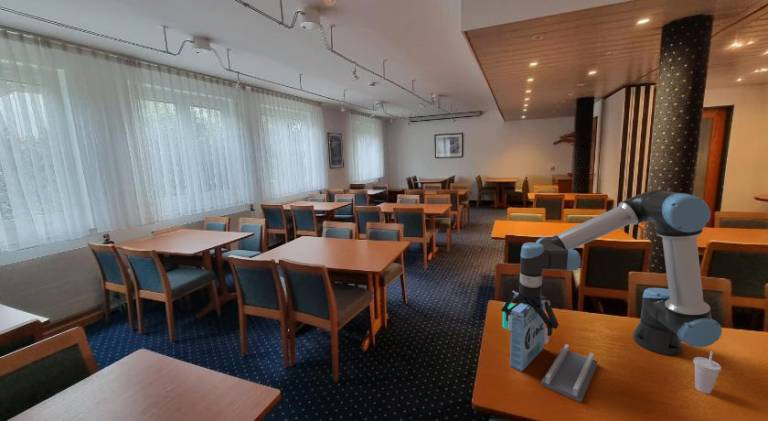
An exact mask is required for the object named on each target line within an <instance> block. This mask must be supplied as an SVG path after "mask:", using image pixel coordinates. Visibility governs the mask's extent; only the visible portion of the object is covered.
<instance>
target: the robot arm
mask: <svg viewBox="0 0 768 421" xmlns="http://www.w3.org/2000/svg"><path fill="white" fill-rule="evenodd" d="M711 215H712V214H711V209H710V207H709V205H708V203H707V202H706V201H705V200H703V199H701V198H700V197H699V196H695V195H692V194H689V193H685V192H676V191H675V192H674V191H669V190H663V189H655V190H649V191H646V192H643V193H639V194H636V195H635V196H633V197H630V198H627V199H625V200H623V201H621V202H619V203H618V206H616V207H614V208H613V209H610V210H608V211H606V212H603V213H602V214H599V215H596V216H595V217H593V218H590V219H587V220H586V221H584V222H582V223H580V224H577V225H575V226H573V227H571V228H568V229H566V230H565V231H561V232H560V233H558V234H556V235H553V236H550V237H546V236H545V237H539V238H538V239H537V240H536V241H535V242H525V243H523V244H522V246H521V250H520V255H519V256H520V267H519V270H520V271H519V284H518V285H519V288H518V292H517V291H516V290H512V291H511V292H510V294H509V297H508V299H507V301H506V302H504V303H505V305H504V306H503V305H502V308H501V312H502V313H503V312H505V313H506V321H508V330H507V331H508V332H509V331H510V332H511V315H512V313H511V312H512V309H514V308H515V307H516V306H518V305H519V304H520V303H526V304H530V305H531V306H533V308H534V309H535V311H536V312H537V313H538V314H539V315H540V317H541V318H542V320H543V321H544V325H546V326H544V345H547V344H548V343H549V341H550V337H551V336H552V335H553V329H555V330H557V329H558V327H559V325H560V324H559V323H558V319H557V317H556V315H555V313H554V311H553V308H552V305H551V300H550V299H545V300H542V299H541V295H542V284H543V271H544V270H546V271H577V270H578V269H579V268H580V267H581V262H582V261H581V255H580V252H579V251H577V250H576V248H577V247H580V246H583V245H585V244H588V243H590V242H592V241H594V240H596V239H598V238H601V237H604V236H605V235H608V234H609V233H610V234H611V233H613V232H615V231H617V230H619V229H621V228H624V227H626V226H629V225H634V226H635V225H638V224H641V223H645V222H653V223H654V229H655V230H654V231H655V234H656V235H657V236H659V237H660V238H661V239H662V245H663V255H664V264H665V273H666V281H667V288H664V287H662V288H661V287H648V288H646V289H644V290H643V294H642V297H641V298H642V303H641V311H640V312H641V313H640V321H639V323H637V326H636V327H635V329H634V330H633V335H632V339H633V341H634V342H635V343H636V344H638V345H639V346H640V347H641V348H643V349H646V350H648V351H651V352H654V353H658V354H661V355H667V356H676V355H680V354H681V353H683V343H684V344H686V345H688V346H690V347H694V348H705V347H709V346H712V345H713V344H715V343H716V342H718V341H719V339H720V338H721V336H722V334H723V327H722V326H721V325H720V323H719V322H718V321H717V320H715V319H713V318H712V312H711V305H709V304H708V303H707V302H705V301H704V296H703V294H704V293H703V286H702V276H701V266H700V257H699V256H700V255H699V248H698V246H699V245H698V239H697V237H699V236H700V235H701V234H703V229H704V228H705V227H706V226H707V223H709V222H710V220H711ZM516 298H517V299H518V300H519V301H518V302H517V303H514V304H515V305H514V306H513V307H511V308H510V309H507V308H508V306H509V305H510V303H513V301H514V299H516ZM541 303H542V304H543V306H544V307H545V312H544V311H543V309H542V307H541V305H540V304H541ZM537 307H538V308H537Z"/></svg>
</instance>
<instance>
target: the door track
mask: <svg viewBox="0 0 768 421" xmlns="http://www.w3.org/2000/svg"><path fill="white" fill-rule="evenodd" d="M556 355H557V356H556V357H555V359H554V360H553V362H552V364H551V365H550V366H549V368H548V370H547V371H546V372H545V375H543V378H542V379H541V381H540V382H541V383H540V385H541V386H543V387H546V388H547V389H549V390H552V391H554V392H556V393H557V394H560V395H563V396H565V397H568V398H569V399H572V400H573V401H576V402H578V403H582V402H583V400H584V397H585V395H586V392H587V390H588V387H589V385H590V383H591V381H592V379H593V376H594V374H595V371H596V368H597V366H598V360H596V359H595V358H594V357H595V356H594V355H595V354H594V353H593V352H589V354H588V356H584V355H582V354H578V353H575V352H572V351H570V344H566V343H565V344H564V346H563V347H562V348H560V351H559V352H558V354H556Z"/></svg>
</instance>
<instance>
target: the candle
mask: <svg viewBox="0 0 768 421" xmlns="http://www.w3.org/2000/svg"><path fill="white" fill-rule="evenodd" d="M505 303H506V302H504V303H503V304H502V307H503V306H504V305H505ZM515 304H516V303H513V302H511V303H510V305H509V306H508V308H507V309H510V308H511V307H513V306H514V305H515ZM511 313H512V312H511ZM502 327H503V329H505V330H507V329H508V321H506V313H505V312H503V311H502Z"/></svg>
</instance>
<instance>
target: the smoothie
mask: <svg viewBox="0 0 768 421" xmlns="http://www.w3.org/2000/svg"><path fill="white" fill-rule="evenodd" d="M712 359H713V351H712V350H710V352H709V358H706V357H703V356H702V357H700V356H697V357H694V358H693V362H692V363H693V364H694V388H695V389H696V390H697V391H699V392H701V393H704V394H709V395H710V394H711V393H712V392H713V388H714V386H715V383H716V381H717V378H718V376H719V373H720V372H721V371H722V366H721V365H720V364H719V363H718V362H716V361H715V360H712Z"/></svg>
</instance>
